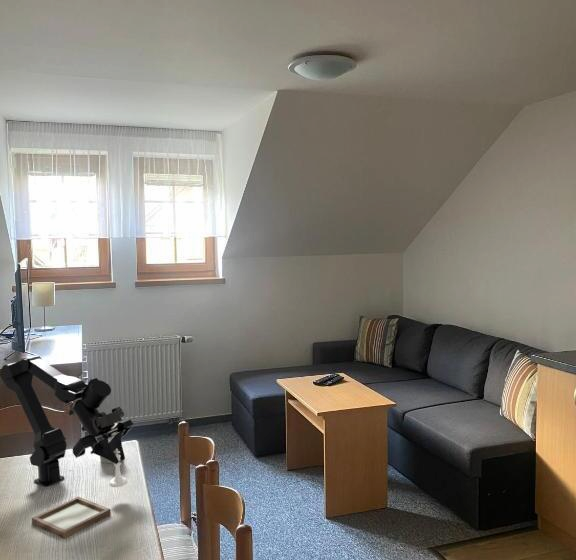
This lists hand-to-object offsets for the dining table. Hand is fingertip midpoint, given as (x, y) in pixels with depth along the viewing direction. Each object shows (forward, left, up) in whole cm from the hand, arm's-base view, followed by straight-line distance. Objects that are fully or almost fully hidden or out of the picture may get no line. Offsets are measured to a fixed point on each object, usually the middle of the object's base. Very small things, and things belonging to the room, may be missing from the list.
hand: (120, 461), depth 161 cm
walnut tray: (-3, -14, -11) cm, 18 cm away
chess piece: (-1, 0, -7) cm, 7 cm away
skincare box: (-26, +17, -12) cm, 33 cm away
